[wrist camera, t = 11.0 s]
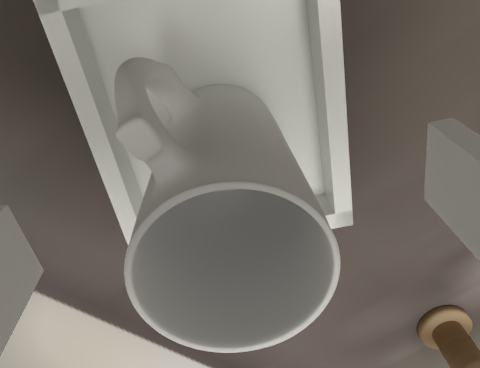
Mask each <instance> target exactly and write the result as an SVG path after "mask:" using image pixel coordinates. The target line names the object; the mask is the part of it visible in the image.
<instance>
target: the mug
mask: <svg viewBox="0 0 480 368" xmlns="http://www.w3.org/2000/svg"><path fill="white" fill-rule="evenodd" d="M146 88H147V89H148V90H150V91H151V92H152V93H153V94H154V95H155V96H156V97H157V98H158V99H159V100H160V102H161V103H162V104H163V105H164V107H165V108H166V109H167V111H168V112H169V114H170V116H171V117H170V119H169V122H168V124H167V127H166V128H165V127H164V125H163V124H162V123H161V121H160V119H159V118H158V116H157V114H156V113H155V111H154V109H153V107H152V105H151V102H150V100H149V97H148V94H147V91H146ZM114 94H115V104H116V111H117V118H118V127H117V129H116V133H115V134H116V137H117V139H118V140H119V141H120V142H121V143H122V144H123V145H124V146H125V147H126V148H127V150H128V151H129V152H130V153H131V154H132V155H133V156H134V157H135V158H137V159H138V160H142V161H144V162H145V163H146V164H147V165H148V167H149V168H150V170H151V172H152V173H151V176H150V179H149V182H148V185H147V188H146V191H145V194H144V197H143V200H142V203H141V206H140V209H139V212H138V216H137V219H136V222H135V225H134V229H133V232H132V236H131V240H130V243H129V245H128V248H127V252H126V256H125V261H124V280H125V285H126V289H127V293H128V295H129V298H130V300H131V302H132V304H133V306H134V307H135V309H136V310H137V312H138V313H139V315H140V316H141V317H142V318H143V319H144V320H145V321H146V322H147V323H148V324H149V325H150V326H151V327H152V328H154V329H155V330H156V331H157V332H159V333H160V334H162V335H163V336H165V337H167V338H169V339H171V340H173V341H175V342H177V343H179V344H182V345H185V346H187V347H191V348H194V349H198V350H203V351H209V352H220V353H236V352H246V351H253V350H258V349H262V348H266V347H269V346H272V345H275V344H278V343H280V342H283V341H285V340H287V339H289V338H291V337H292V336H294V335H296V334H297V333H299V332H300V331H302V330H303V329H305V328H306V327H307V326H308V325H309V324H311V323H312V322H313V321H314V320H315V319H316V318H317V317H318V316H319V315H320V314H321V312H322V311H323V310H324V309H325V307H326V306H327V304H328V303H329V301H330V299H331V298H332V296H333V293H334V291H335V289H336V286H337V283H338V279H339V274H340V253H339V248H338V244H337V241H336V238H335V236H334V233H333V231H332V230H331V228H330V226H329V223H328V221H327V219H326V216H325V214H324V212H323V210H322V208H321V206H320V204H319V202H318V200H317V199H316V197H315V195H314V193H313V191H312V189H311V187H310V185H309V183H308V181H307V179H306V178H305V176H304V174H303V172H302V170H301V168H300V166H299V164H298V163H297V161H296V159H295V157H294V155H293V153H292V151H291V149H290V147H289V145H288V144H287V142H286V140H285V138H284V136H283V134H282V132H281V130H280V128H279V126H278V124H277V122H276V120H275V119H274V117H273V115H272V114H271V112H270V110H269V109H268V108H267V106H266V105H265V104H264V103H263V101H262V100H261V99H259V98H258V97H257V96H256V95H254V94H253V93H251V92H250V91H248V90H246V89H243V88H240V87H237V86H233V85H225V84H218V85H210V86H206V87H203V88H200V89H198V90H196V91H194V92H192V93H191V92H190V90H189V89H188V88H187V86H186V85H185V84H184V82H183V81H182V79H181V78H180V76H179V75H178V74H177V72H176V71H175V70H174V69H173V68H172V67H171V66H169V65H167V64H164V63H160V62H157V61H154V60H151V59H147V58H143V57H134V58H131V59H128V60H127V61H125V62H124V63H122V64H121V65H120V66H119V68H118V69H117V71H116V75H115V80H114Z"/></svg>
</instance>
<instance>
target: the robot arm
mask: <svg viewBox="0 0 480 368" xmlns="http://www.w3.org/2000/svg"><path fill="white" fill-rule="evenodd" d="M424 199H425V201H426V202H427V203H428V204H429V205H430V206H431V207H432V208H433V210H434V211H435V212H436V213H437V214H438V215H439V216H440V217H441V219H442V220H443V221H444V222H445V223H446V224H447V225H448V226H449V228H450V229H451V230H452V231H453V232H454V233H455V234H456V235H457V237H458V238H459V239H460V240H461V241H462V242H463V243H464V244H465V246H466V247H467V248H468V249H469V250H470V251H471V252H472V253H473V255H474V256H475V257H476V258H477V259H478V260H479V261H480V135H479V134H477V133H476V132H474V131H473V130H471V129H470V128H468V127H467V126H465V125H464V124H462V123H461V122H459V121H458V120H456V119H455V118H449V119H444V120H439V121H434V122H429V123H428V134H427V152H426V170H425V188H424ZM43 271H44V270H43V268H42V266H41V265H40V263H39V261H38V259H37V257H36V256H35V254H34V252H33V250H32V248H31V247H30V245H29V243H28V241H27V239H26V238H25V236H24V234H23V232H22V230H21V229H20V227H19V225H18V223H17V221H16V219H15V218H14V216H13V214H12V212H11V210H10V209H9V207H8V205H7V204H6V205H1V206H0V356H1V354H2V352H3V350H4V348H5V346H6V344H7V342H8V340H9V338H10V336H11V334H12V332H13V330H14V328H15V326H16V324H17V322H18V320H19V318H20V316H21V315H22V312H23V310H24V309H25V306H26V305H27V303H28V301H29V299H30V297H31V295H32V293H33V291H34V289H35V287H36V285H37V283H38V281H39V279H40V277H41V275H42V273H43Z"/></svg>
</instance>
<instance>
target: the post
mask: <svg viewBox="0 0 480 368" xmlns="http://www.w3.org/2000/svg"><path fill="white" fill-rule="evenodd" d="M471 331H472V321H471V319H470V318H469V317H468V315H467V314H466V313H465V311H464V310H463V309H461V308H460V307H457V306H452V305H447V306H441V307H438V308H435V309H433V310H431V311H429V312H428V313H426V314H425V315H424V316H423V317H422V318H421V320H420V321H419V323H418V326H417V332H418V334H419V336H420V338H421V340H422V341H423V343H424V344H425V345H426V346H427V347H429V348H431V349H436V350H440V351H441V353H442V354H443V356H444V358H445V359H446V361H447V363H448V364H449V366H450V368H480V350H479V349H478V347H477V346H476V345H475V343H474V342H473V340H472V339H471V338H470V336H469V334H470V333H471Z"/></svg>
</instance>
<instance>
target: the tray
mask: <svg viewBox="0 0 480 368" xmlns="http://www.w3.org/2000/svg"><path fill="white" fill-rule="evenodd" d="M33 2H34V4H35V7H36V9H37V12H38V15H39V17H40V20H41V22H42V25H43V28H44V30H45V33H46V35H47V38H48V40H49V43H50V46H51V48H52V51H53V53H54V56H55V58H56V61H57V64H58V66H59V69H60V71H61V74H62V77H63V79H64V82H65V84H66V87H67V89H68V92H69V95H70V97H71V100H72V102H73V105H74V107H75V110H76V113H77V115H78V118H79V120H80V123H81V126H82V128H83V131H84V133H85V136H86V138H87V141H88V144H89V146H90V149H91V151H92V154H93V157H94V159H95V162H96V164H97V167H98V169H99V172H100V175H101V177H102V180H103V182H104V185H105V187H106V190H107V193H108V195H109V198H110V200H111V203H112V206H113V208H114V211H115V213H116V216H117V218H118V221H119V224H120V226H121V229H122V231H123V234H124V236H125V239H126V242H127V244H128V245H129V243H130V240H131V236H132V232H133V229H134V225H135V222H136V219H137V216H138V212H139V209H140V206H141V203H142V200H143V197H144V194H145V191H146V188H147V185H148V182H149V179H150V176H151V173H152V172H151V170H150V168H149V167H148V165H147V164H146V163H145V162H144V161H142V160H138V159H137V158H135V157H134V156H133V155H132V154H131V153H130V152H129V151H128V150H127V148H126V147H125V146H124V145H123V144H122V143H121V142H120V141H119V140H118V139H117V137H116V134H115V133H116V129H117V127H118V118H117V111H116V104H115V94H114V80H115V75H116V71H117V69H118V68H119V66H120V65H121V64H122V63H124V62H125V61H127V60H128V59H131V58H134V57H143V58H147V59H151V60H154V61H157V62H160V63H164V64H167V65H169V66H171V67H172V68H173V69H174V70H175V71H176V72H177V74H178V75H179V76H180V78H181V79H182V81H183V82H184V84H185V85H186V86H187V88H188V89H189V90H190V92H191V93H192V92H194V91H196V90H198V89H200V88H203V87H206V86H210V85H218V84H225V85H233V86H237V87H240V88H243V89H246V90H248V91H250V92H251V93H253V94H254V95H256V96H257V97H258V98H259V99H261V100H262V101H263V103H264V104H265V105H266V106H267V108H268V109H269V110H270V112H271V114H272V115H273V117H274V119H275V120H276V122H277V124H278V126H279V128H280V130H281V132H282V134H283V136H284V138H285V140H286V142H287V144H288V145H289V147H290V149H291V151H292V153H293V155H294V157H295V159H296V161H297V163H298V164H299V166H300V168H301V170H302V172H303V174H304V176H305V178H306V179H307V181H308V183H309V185H310V187H311V189H312V191H313V193H314V195H315V197H316V199H317V200H318V202H319V204H320V206H321V208H322V210H323V212H324V214H325V216H326V219H327V221H328V223H329V226H330V228H331V229H334V228H339V227H344V226H349V225H353V213H352V196H351V179H350V162H349V145H348V127H347V110H346V93H345V76H344V59H343V42H342V25H341V8H340V0H33ZM146 91H147V94H148V97H149V100H150V102H151V105H152V107H153V109H154V111H155V113H156V114H157V116H158V118H159V119H160V121H161V123H162V124H163V125H164V127H165V128H166V127H167V124H168V122H169V119H170V117H171V116H170V114H169V112H168V111H167V109H166V108H165V107H164V105H163V104H162V103H161V102H160V100H159V99H158V98H157V97H156V96H155V95H154V94H153V93H152V92H151V91H150V90H148V89H147V88H146Z"/></svg>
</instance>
